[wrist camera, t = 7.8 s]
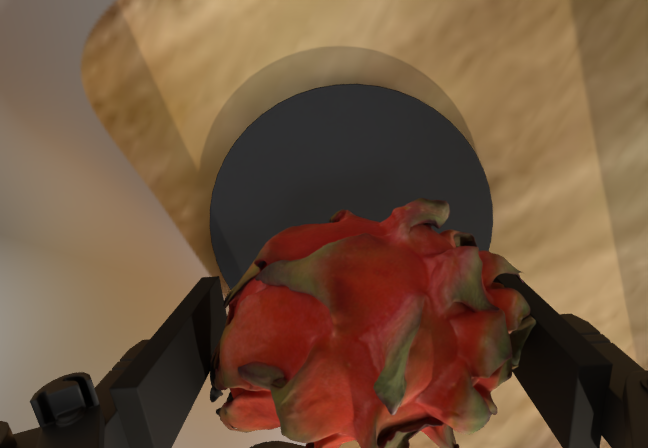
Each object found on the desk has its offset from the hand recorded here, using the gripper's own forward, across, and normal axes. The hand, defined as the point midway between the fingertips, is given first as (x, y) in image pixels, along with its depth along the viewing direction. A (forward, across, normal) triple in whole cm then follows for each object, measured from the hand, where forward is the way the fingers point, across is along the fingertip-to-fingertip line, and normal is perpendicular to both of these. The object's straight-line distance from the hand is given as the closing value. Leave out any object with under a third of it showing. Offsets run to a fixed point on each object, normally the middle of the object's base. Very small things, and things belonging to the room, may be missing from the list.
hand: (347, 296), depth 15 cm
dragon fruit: (+1, 0, 0) cm, 1 cm away
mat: (+9, 0, 0) cm, 9 cm away
